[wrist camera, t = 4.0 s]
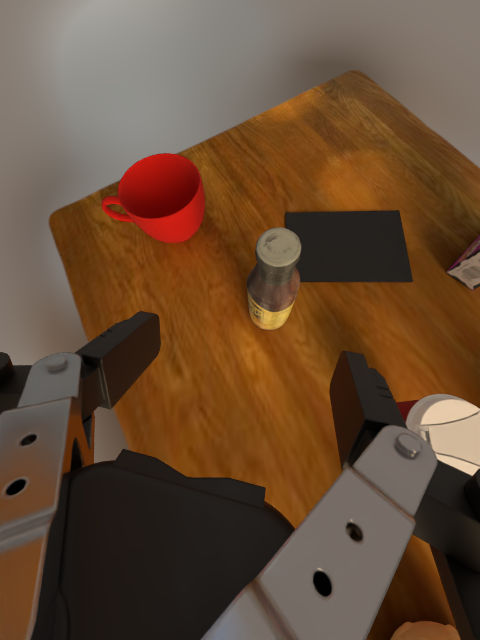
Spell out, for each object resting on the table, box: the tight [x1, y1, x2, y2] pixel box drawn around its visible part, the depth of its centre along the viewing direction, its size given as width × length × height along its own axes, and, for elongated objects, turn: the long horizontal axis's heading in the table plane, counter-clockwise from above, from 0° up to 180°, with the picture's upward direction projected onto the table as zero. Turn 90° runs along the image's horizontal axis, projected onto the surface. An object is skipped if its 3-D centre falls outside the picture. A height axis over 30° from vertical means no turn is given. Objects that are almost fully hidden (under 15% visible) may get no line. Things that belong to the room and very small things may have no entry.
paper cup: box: [396, 394, 480, 476], centre depth 28 cm, size 8×8×14 cm
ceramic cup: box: [102, 153, 205, 243], centre depth 43 cm, size 13×17×10 cm
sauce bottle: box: [247, 228, 301, 331], centre depth 32 cm, size 7×6×20 cm
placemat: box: [286, 211, 413, 282], centre depth 44 cm, size 20×14×1 cm
